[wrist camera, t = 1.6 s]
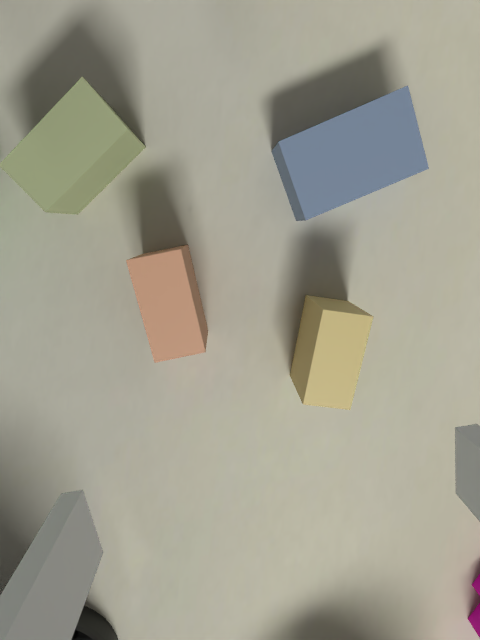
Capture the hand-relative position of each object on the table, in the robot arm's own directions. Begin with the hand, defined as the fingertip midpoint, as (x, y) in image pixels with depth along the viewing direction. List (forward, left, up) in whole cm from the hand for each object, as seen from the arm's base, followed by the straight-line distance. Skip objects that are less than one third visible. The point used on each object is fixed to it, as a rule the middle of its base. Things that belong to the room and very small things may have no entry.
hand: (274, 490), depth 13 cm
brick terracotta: (-5, +4, -22) cm, 23 cm away
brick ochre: (+7, -3, -22) cm, 23 cm away
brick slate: (+11, +12, -22) cm, 28 cm away
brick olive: (-9, +16, -22) cm, 29 cm away
